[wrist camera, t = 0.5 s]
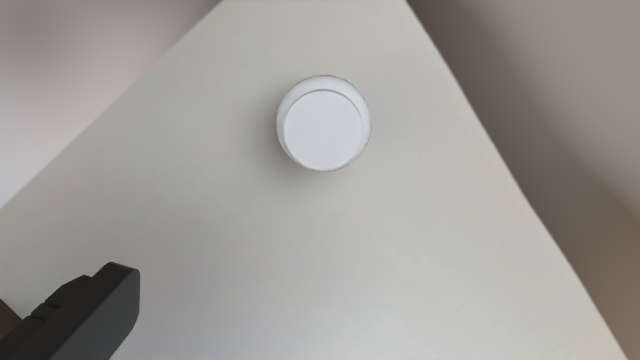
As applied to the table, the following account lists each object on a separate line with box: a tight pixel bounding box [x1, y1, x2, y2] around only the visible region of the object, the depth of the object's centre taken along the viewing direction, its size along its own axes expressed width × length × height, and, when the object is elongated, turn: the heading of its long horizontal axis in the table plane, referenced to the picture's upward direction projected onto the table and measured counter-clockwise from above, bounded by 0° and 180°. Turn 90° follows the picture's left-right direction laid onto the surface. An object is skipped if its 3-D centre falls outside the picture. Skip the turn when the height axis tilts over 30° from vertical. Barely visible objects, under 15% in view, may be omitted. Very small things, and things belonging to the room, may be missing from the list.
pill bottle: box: [276, 75, 371, 171], centre depth 25 cm, size 6×5×10 cm
